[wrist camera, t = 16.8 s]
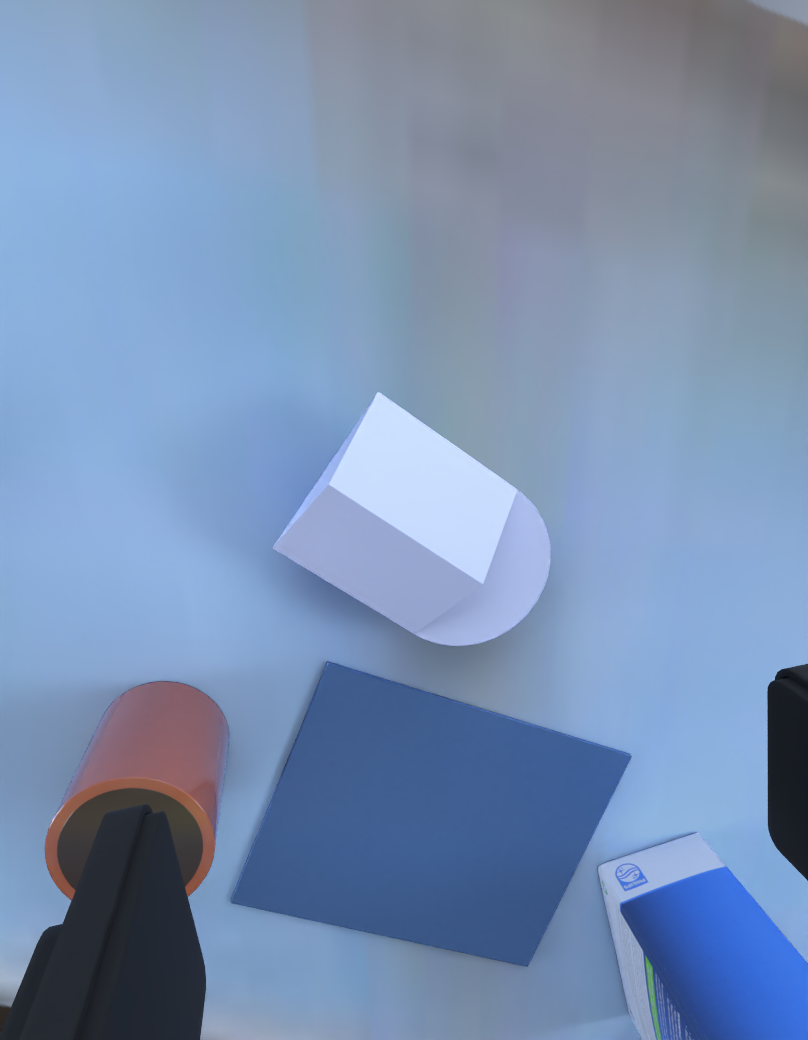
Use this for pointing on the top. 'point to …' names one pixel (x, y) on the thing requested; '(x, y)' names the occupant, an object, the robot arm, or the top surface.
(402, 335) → the top surface
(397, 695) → the blue rectangular mat
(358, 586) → the wedge on round base
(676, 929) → the string lights box
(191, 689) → the mug
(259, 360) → the top surface
